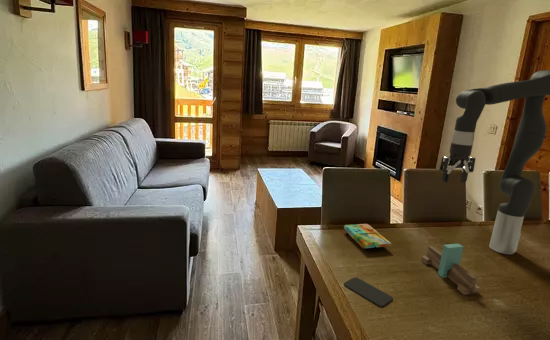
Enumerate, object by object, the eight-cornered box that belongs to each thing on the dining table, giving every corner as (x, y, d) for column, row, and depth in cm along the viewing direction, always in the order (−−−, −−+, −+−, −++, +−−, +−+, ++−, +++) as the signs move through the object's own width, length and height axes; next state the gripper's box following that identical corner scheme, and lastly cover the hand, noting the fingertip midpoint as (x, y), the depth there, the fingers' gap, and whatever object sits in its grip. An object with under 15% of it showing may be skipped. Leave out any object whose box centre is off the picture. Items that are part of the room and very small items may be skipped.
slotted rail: (433, 259, 131) (436, 245, 129) (478, 292, 110) (482, 277, 109) (420, 260, 130) (423, 246, 128) (463, 294, 109) (467, 278, 107)
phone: (355, 276, 116) (394, 297, 105) (355, 278, 116) (394, 299, 105) (342, 283, 111) (381, 306, 100) (342, 285, 111) (381, 309, 100)
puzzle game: (367, 221, 153) (392, 241, 135) (365, 231, 155) (390, 251, 136) (344, 223, 150) (366, 243, 132) (343, 232, 152) (365, 254, 133)
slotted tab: (452, 272, 122) (458, 243, 119) (457, 276, 120) (463, 246, 117) (437, 274, 120) (443, 244, 117) (442, 278, 118) (448, 248, 115)
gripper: (453, 144, 123) (445, 185, 127) (484, 144, 126) (476, 184, 130) (439, 140, 130) (432, 179, 134) (469, 141, 133) (461, 179, 137)
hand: (454, 182), depth 132 cm, fingers open, 8 cm apart
